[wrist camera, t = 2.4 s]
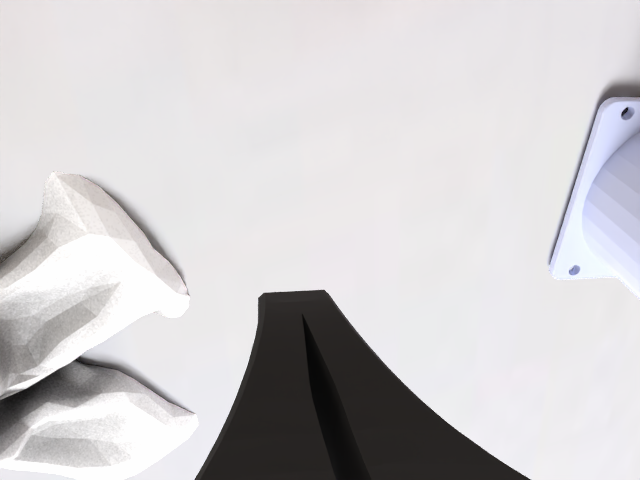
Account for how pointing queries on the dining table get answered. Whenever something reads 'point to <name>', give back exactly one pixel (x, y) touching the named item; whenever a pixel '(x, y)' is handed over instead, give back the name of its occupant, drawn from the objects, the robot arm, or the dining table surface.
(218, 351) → the dining table surface
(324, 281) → the dining table surface
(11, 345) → the cloth
